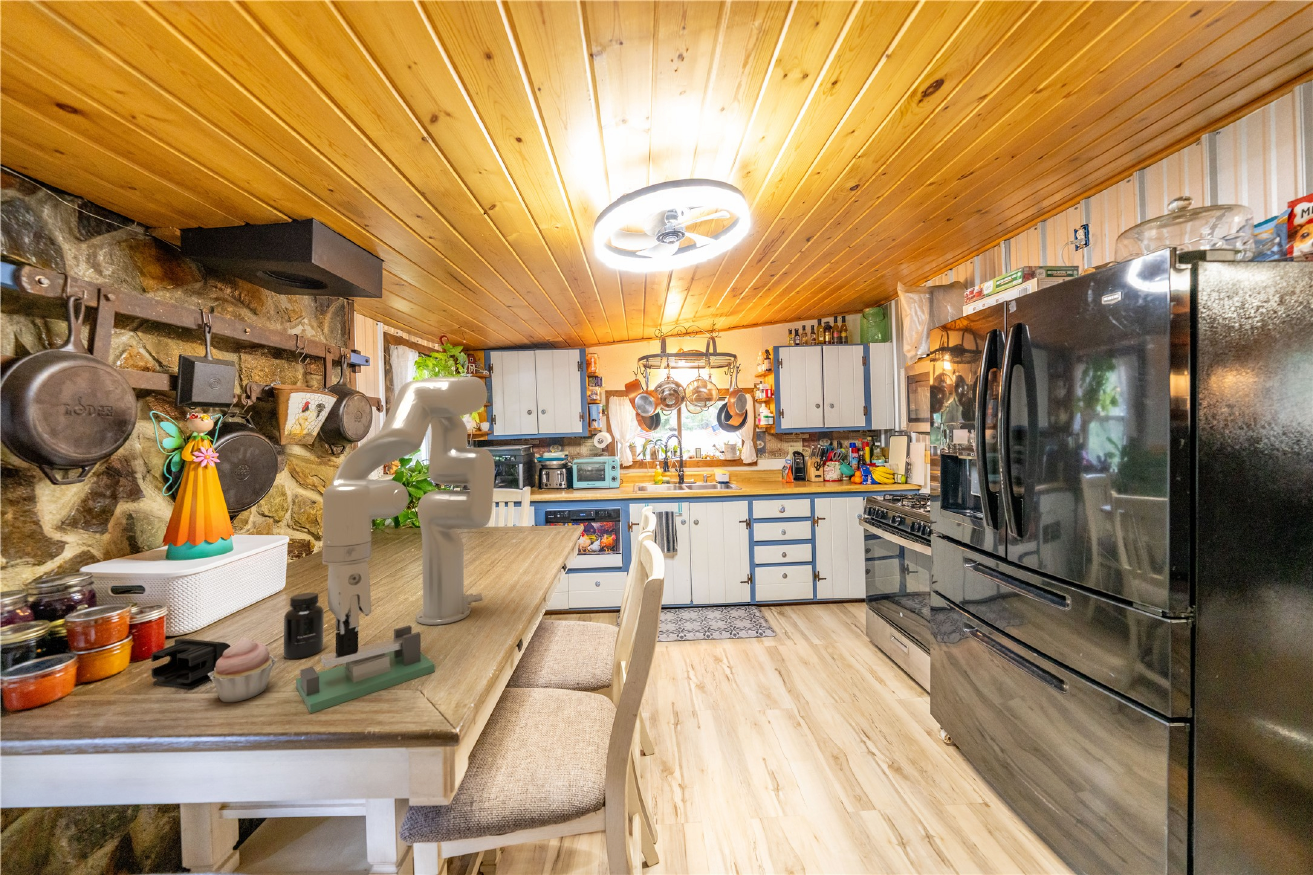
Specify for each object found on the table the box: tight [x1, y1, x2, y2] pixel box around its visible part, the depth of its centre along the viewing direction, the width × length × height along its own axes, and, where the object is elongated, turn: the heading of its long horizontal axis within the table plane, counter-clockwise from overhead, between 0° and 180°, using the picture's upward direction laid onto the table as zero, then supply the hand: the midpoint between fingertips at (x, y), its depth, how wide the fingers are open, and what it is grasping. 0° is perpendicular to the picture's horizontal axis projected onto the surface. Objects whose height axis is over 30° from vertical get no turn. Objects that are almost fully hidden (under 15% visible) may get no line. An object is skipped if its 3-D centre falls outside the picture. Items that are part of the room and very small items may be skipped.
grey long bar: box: [320, 635, 405, 669], centre depth 93 cm, size 15×3×2 cm, turn 135°
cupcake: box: [208, 636, 278, 703], centre depth 88 cm, size 9×9×10 cm
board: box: [295, 625, 436, 714], centre depth 93 cm, size 20×12×7 cm, turn 135°
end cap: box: [150, 637, 232, 691], centre depth 93 cm, size 10×7×7 cm
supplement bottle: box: [283, 591, 325, 660], centre depth 104 cm, size 7×7×12 cm
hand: (346, 653), depth 90 cm, fingers closed
